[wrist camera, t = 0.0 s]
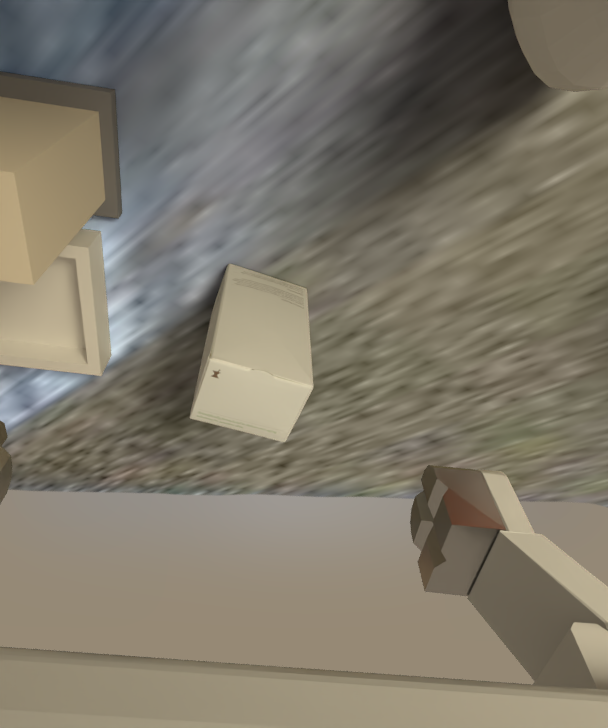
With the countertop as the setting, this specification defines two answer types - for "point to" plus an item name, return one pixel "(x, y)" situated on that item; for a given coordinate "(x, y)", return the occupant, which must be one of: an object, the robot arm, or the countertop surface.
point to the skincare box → (255, 356)
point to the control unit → (53, 169)
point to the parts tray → (59, 313)
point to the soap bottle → (564, 41)
